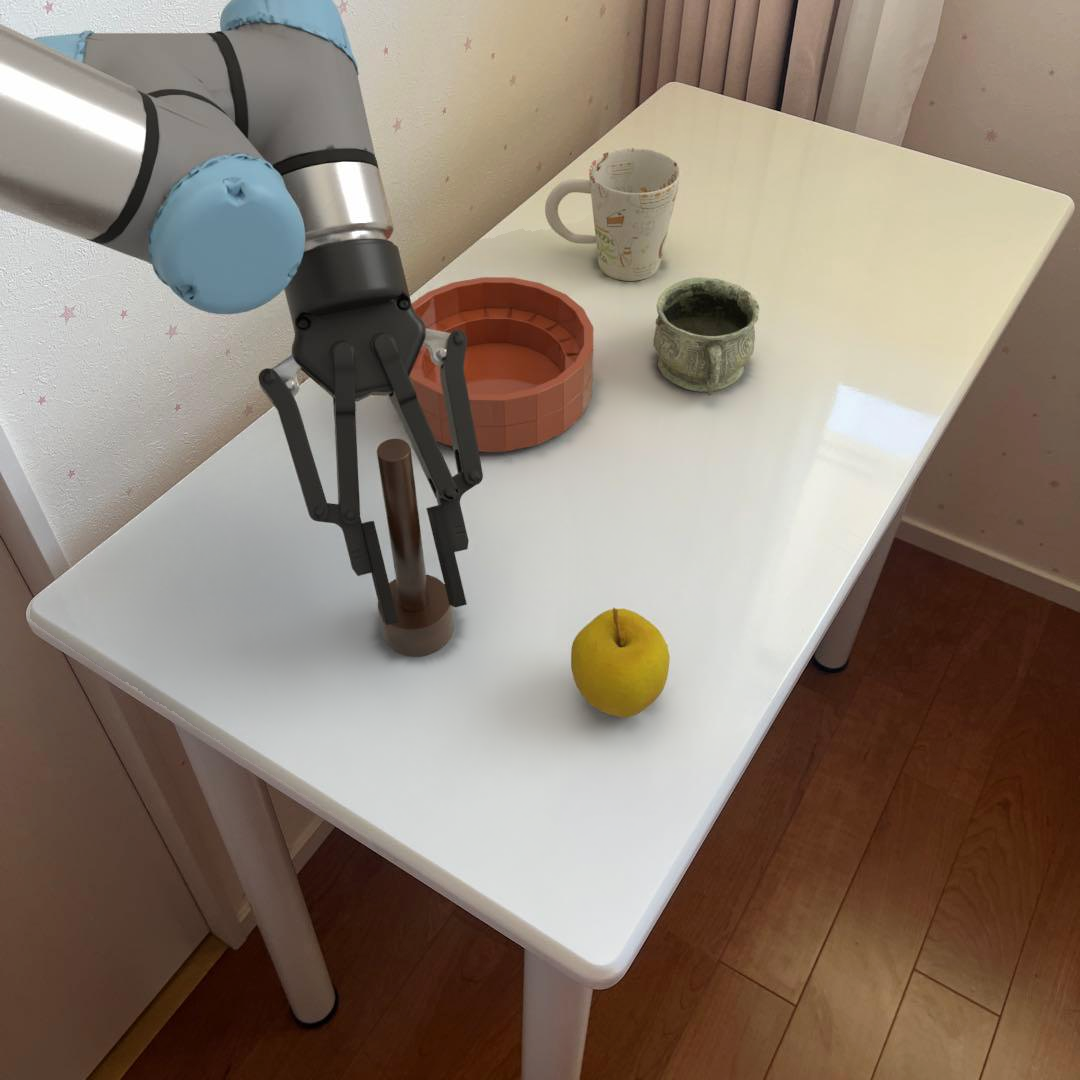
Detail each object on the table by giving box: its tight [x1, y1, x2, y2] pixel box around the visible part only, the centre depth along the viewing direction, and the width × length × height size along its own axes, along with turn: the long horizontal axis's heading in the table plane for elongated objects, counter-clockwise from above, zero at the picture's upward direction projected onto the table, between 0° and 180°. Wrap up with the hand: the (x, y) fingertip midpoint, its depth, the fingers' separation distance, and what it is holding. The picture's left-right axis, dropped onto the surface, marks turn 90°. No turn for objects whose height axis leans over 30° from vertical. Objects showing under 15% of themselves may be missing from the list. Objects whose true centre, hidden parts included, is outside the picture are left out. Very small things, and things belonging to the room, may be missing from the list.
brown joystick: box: [376, 438, 455, 657], centre depth 71 cm, size 5×5×17 cm
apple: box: [570, 607, 671, 718], centre depth 71 cm, size 6×6×8 cm
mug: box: [544, 147, 681, 282], centre depth 105 cm, size 8×13×10 cm, turn 81°
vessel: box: [653, 277, 760, 396], centre depth 95 cm, size 12×9×6 cm
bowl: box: [409, 276, 595, 453], centre depth 93 cm, size 17×17×6 cm
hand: (424, 612), depth 71 cm, fingers open, 4 cm apart
